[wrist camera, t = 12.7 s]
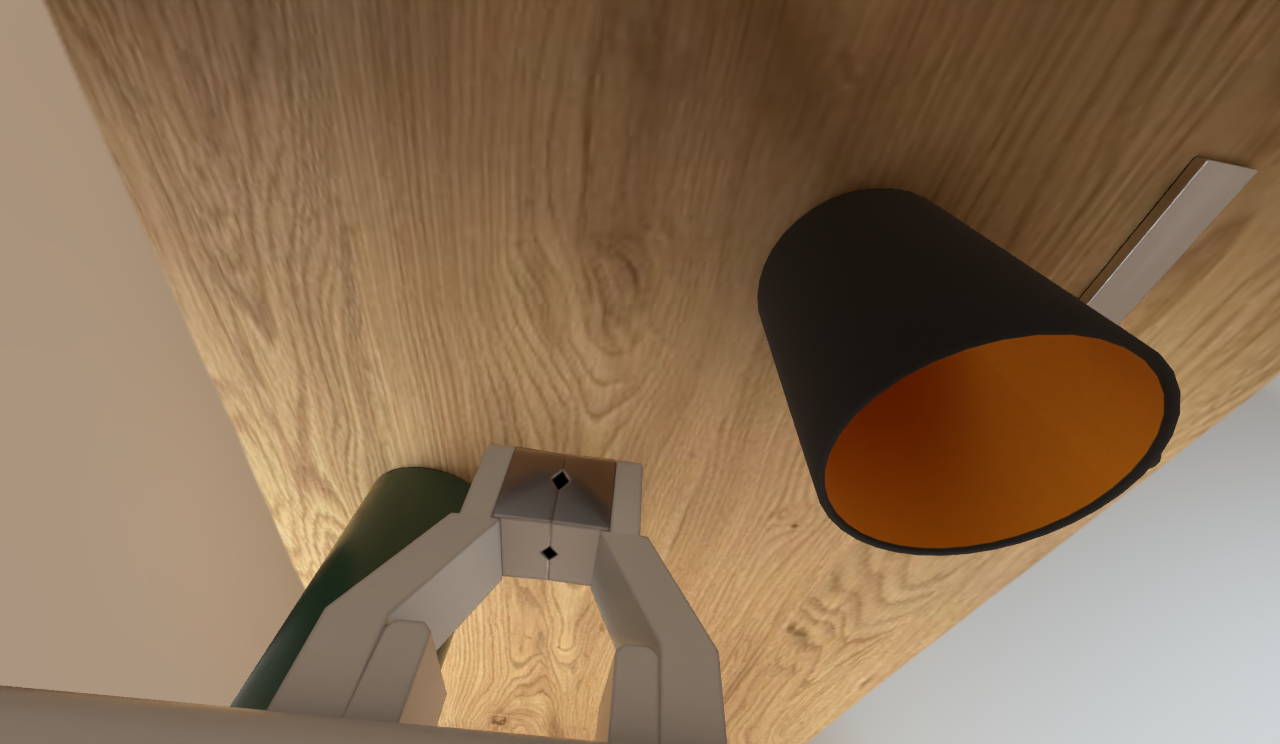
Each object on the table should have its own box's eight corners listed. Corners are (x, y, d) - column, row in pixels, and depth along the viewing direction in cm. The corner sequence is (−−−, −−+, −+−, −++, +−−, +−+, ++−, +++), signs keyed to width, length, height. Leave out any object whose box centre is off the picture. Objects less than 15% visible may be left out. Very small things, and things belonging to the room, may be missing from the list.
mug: (959, 394, 23) (1119, 595, 15) (730, 343, 22) (768, 530, 14) (1088, 237, 19) (1428, 407, 10) (805, 163, 18) (929, 285, 9)
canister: (347, 503, 31) (9, 1001, 15) (408, 444, 28) (48, 1020, 12) (454, 558, 35) (268, 1015, 19) (521, 512, 31) (363, 1033, 15)
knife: (962, 487, 28) (979, 513, 26) (927, 482, 27) (941, 507, 26) (1248, 167, 17) (1303, 180, 15) (1193, 155, 17) (1242, 167, 15)
